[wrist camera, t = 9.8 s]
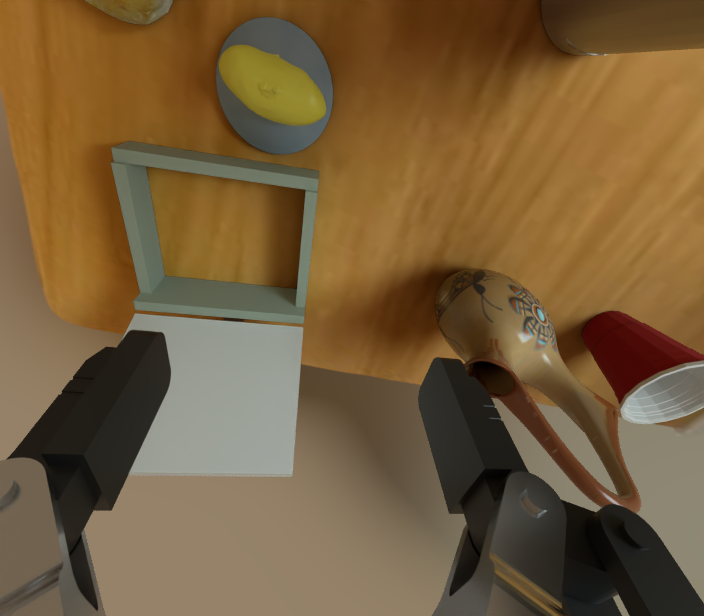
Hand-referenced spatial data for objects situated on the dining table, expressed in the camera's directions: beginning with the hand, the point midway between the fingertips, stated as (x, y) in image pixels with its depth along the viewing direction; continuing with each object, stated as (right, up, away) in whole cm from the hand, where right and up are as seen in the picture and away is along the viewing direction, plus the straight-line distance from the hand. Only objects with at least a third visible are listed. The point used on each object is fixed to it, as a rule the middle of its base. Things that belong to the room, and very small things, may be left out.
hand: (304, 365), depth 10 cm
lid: (-11, -5, +18) cm, 22 cm away
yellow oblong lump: (-4, +19, +16) cm, 25 cm away
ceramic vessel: (+15, +4, +29) cm, 34 cm away
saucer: (-5, +19, +17) cm, 26 cm away
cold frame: (-11, +9, +23) cm, 27 cm away
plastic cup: (+35, -1, +35) cm, 50 cm away
